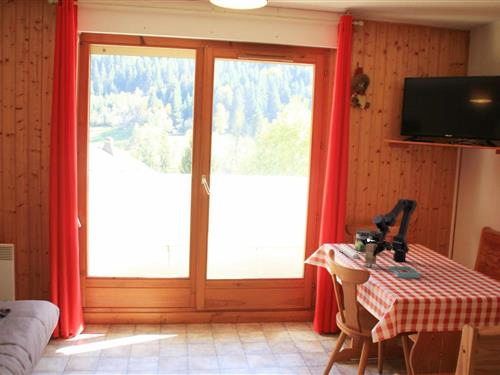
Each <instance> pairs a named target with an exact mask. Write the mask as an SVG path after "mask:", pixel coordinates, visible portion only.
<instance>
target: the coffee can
mask: <svg viewBox="0 0 500 375" xmlns="http://www.w3.org/2000/svg"><path fill="white" fill-rule="evenodd" d="M355 232H356V234H355V245H354V246H355V247H354V252H355V253H357V252H358V253H357V254H361V255H363V254H365V255H366V245H363V244H362V242H361V240H360V239H361V237H362V236H365V237H368V238H369V239H370V240H372V239H371V236H369V233H370V230H369V229H356V231H355Z"/></svg>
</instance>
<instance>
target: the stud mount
mask: <svg viewBox="0 0 500 375" xmlns="http://www.w3.org/2000/svg"><path fill="white" fill-rule="evenodd" d="M362 267H364V268H365V269H367V270H368V269H370V270H371V269H375V270H378V269H379V268H378V267H376V266H375V264H372V265H371V264H365V265H364V264H362Z"/></svg>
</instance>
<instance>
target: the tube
mask: <svg viewBox="0 0 500 375" xmlns="http://www.w3.org/2000/svg"><path fill="white" fill-rule="evenodd" d="M337 250H338V251H339V252H341V253H342V252H343V255H345V256H347V257H348V258H351V259H353V260H354V259H355V260H359V259H360V255H359V253H357V252H355V250H352V249H351V248H350V247H348V246H347V245H346V244H344V243H340V244H339V246H338V249H337Z"/></svg>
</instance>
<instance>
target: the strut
mask: <svg viewBox="0 0 500 375" xmlns="http://www.w3.org/2000/svg"><path fill="white" fill-rule="evenodd" d="M376 248H377V245H376V244H371V243H370V244H366V254H365V257H364V259H365V260H364V263H365V264H366V265H368V264H371V265H375V264H376V263H377V255H375V256H373V254H374V252H375V250H376Z"/></svg>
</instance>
